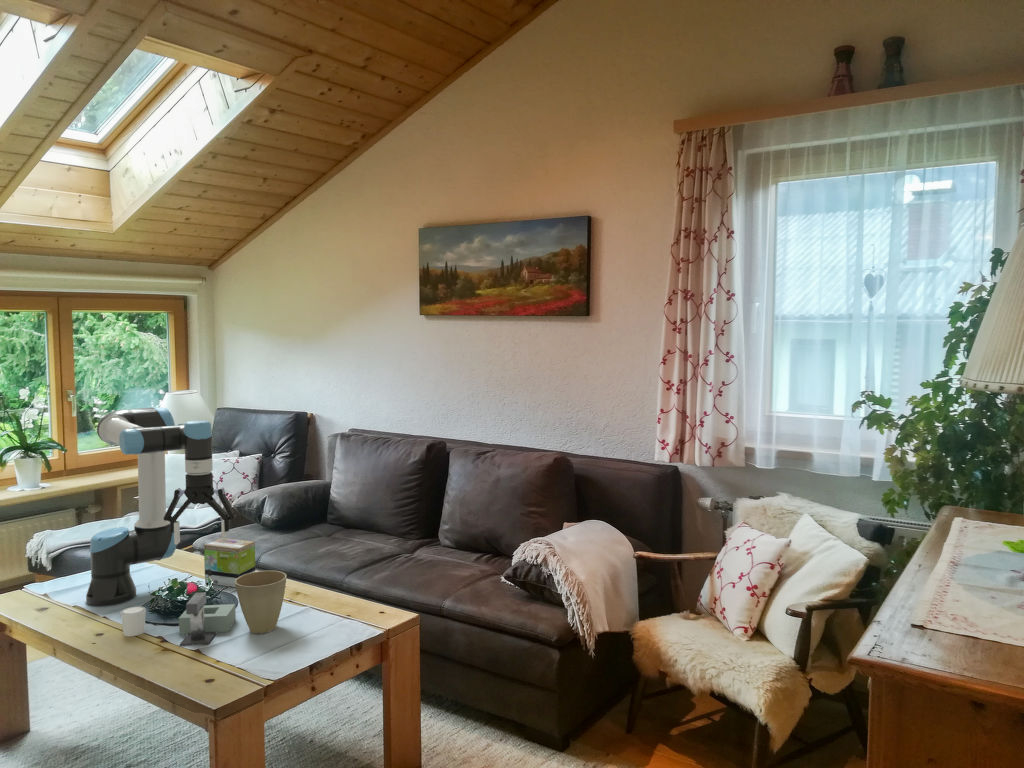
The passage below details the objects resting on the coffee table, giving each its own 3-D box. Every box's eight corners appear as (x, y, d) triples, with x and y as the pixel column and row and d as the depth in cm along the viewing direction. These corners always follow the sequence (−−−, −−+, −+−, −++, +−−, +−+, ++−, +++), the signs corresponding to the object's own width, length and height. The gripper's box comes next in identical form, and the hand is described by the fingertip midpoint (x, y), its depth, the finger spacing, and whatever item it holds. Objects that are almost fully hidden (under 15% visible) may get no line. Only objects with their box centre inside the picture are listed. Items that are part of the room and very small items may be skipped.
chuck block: (179, 634, 225) (178, 617, 225) (189, 621, 235) (189, 606, 234) (227, 631, 226) (226, 615, 226) (235, 619, 236) (235, 604, 236)
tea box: (203, 584, 270) (202, 544, 269) (222, 576, 280) (221, 537, 279) (239, 588, 266) (238, 547, 265) (256, 579, 275) (255, 540, 275)
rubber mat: (179, 645, 216) (179, 643, 216) (188, 635, 224) (188, 633, 224) (208, 644, 217) (208, 642, 217) (216, 633, 225) (216, 631, 225)
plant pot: (262, 617, 239) (260, 567, 238) (297, 624, 232) (296, 574, 231) (225, 633, 225) (223, 581, 224) (262, 642, 219) (261, 589, 218)
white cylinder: (115, 635, 224) (115, 612, 224) (134, 627, 231) (133, 604, 230) (133, 638, 222) (132, 615, 221) (151, 629, 228) (151, 607, 228)
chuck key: (195, 631, 225) (193, 592, 224) (209, 630, 225) (207, 592, 224) (186, 644, 216) (184, 604, 215) (200, 643, 216) (198, 603, 215)
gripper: (150, 475, 218) (152, 547, 220) (239, 474, 221) (240, 545, 222) (159, 471, 226) (161, 540, 227) (245, 469, 228) (246, 538, 230)
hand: (200, 542), depth 225 cm, fingers open, 13 cm apart
